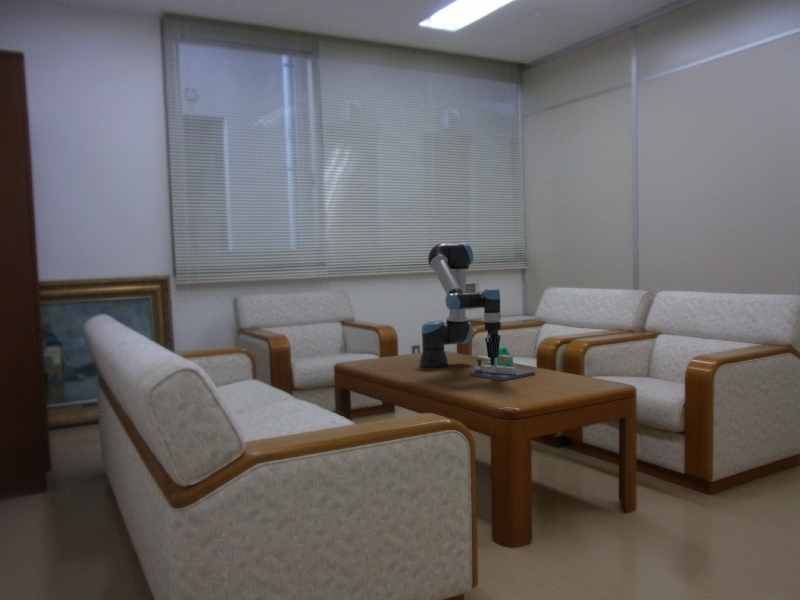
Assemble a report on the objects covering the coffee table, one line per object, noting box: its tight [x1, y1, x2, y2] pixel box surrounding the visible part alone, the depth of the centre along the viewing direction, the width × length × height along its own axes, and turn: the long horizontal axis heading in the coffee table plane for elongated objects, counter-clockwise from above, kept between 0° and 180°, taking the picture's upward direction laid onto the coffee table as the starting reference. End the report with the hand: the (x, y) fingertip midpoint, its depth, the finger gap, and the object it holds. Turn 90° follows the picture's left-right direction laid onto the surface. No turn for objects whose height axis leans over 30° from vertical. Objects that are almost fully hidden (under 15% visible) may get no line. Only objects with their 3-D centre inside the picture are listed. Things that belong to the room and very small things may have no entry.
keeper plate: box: [468, 355, 536, 382], centre depth 316 cm, size 22×22×8 cm
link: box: [473, 358, 517, 375], centre depth 314 cm, size 20×5×6 cm, turn 57°
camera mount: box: [486, 346, 514, 366], centre depth 341 cm, size 12×8×10 cm, turn 121°
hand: (493, 371), depth 310 cm, fingers closed
